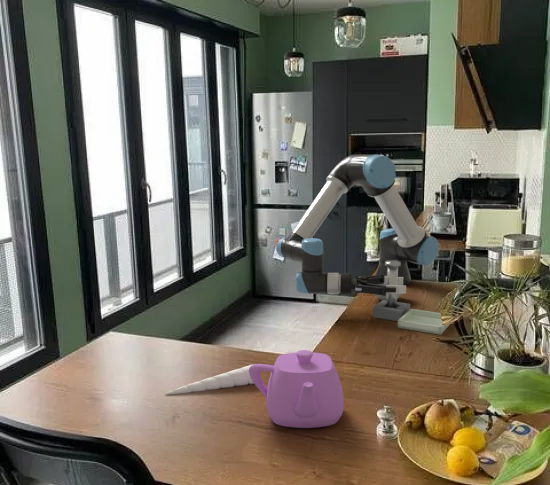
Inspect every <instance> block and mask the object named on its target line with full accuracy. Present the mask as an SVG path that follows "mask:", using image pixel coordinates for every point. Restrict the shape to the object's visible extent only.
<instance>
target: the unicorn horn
mask: <svg viewBox="0 0 550 485" xmlns="http://www.w3.org/2000/svg"><path fill="white" fill-rule="evenodd" d="M252 365H254V364H249V365H245V366H244V367H240V368H236V369H233V370H229V371H227V372H223V373H221V374H217V375H213V376H212V377H207V378H205V379H200V380H198V381H195V382H191V383H188V384H186V385H183V386H181V387H177V388H175V389H172V390H170V391H167V392H166V393H164V395H168V396H169V395H170V396H171V395H177V394H179V395H180V394H181V395H182V394H188V393H192V392H194V393H195V392H196V393H197V392H204V391H211V390H219V389H220V390H221V389H227V388H233V387H235V386H236V387H238V386H239V387H240V386H246V385H248V384H249V385H255V384H254V382H253V381H252V379H251V377H250V374H249V368H250V366H252Z"/></svg>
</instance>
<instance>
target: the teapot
mask: <svg viewBox="0 0 550 485" xmlns="http://www.w3.org/2000/svg"><path fill="white" fill-rule="evenodd" d="M251 365H252V364H251ZM261 372H270V375H269V379H268V382H267V387H266V385H265V384H264V382H263V380H262V378H261V375H260V374H261ZM249 374H250V377H251V379H252V381H253V382H254V384H253V385H255V387H257V388H258V390H259V391H260V392H261V393H262V395H263V396H264V397H265V405H266V411H267V414H268V416H269V417H270V419H271V421H272V422H273V423H274V424H276V425H278V426H282V427H287V428H296V429H297V428H298V429H312V428H313V429H314V428H321V427H322V428H323V427H328V426H333V425H335V424H336V423H337V422H338V421H339V420H340V418H341V417H342V415H343V412H344V407H345V406H344V405H345V404H344V393H343V386H342V383H341V379H340V377H339V373H338V372H337V369H336V367H335V364H334V362H333V360H332V358H331V356H329V354H327V353H322V352H321V353H320V352H312V351H310V350H308V349H301V350H298V351H296V352H288V353H282V354H280V355H279V356H277V357H276V360H275V361H274V365H272V364H265V363H255V364H254V365H252V366H250V368H249Z"/></svg>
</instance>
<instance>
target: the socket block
mask: <svg viewBox="0 0 550 485" xmlns="http://www.w3.org/2000/svg"><path fill="white" fill-rule="evenodd" d="M386 303H387V301H386V300H380V301H379V302H378V303H377V304H376V305H374V306H373V307H372V318H377V319H381V320H386V321H387V320H388V321H395V322H398V320H399V319H400V318H401V317H402V316H403V315H405V314H406V313H407V312H408V311H409V310H410V309H411V304H410V303H405V302H398V301H397V308H390V307H386Z"/></svg>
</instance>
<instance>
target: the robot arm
mask: <svg viewBox="0 0 550 485" xmlns="http://www.w3.org/2000/svg"><path fill="white" fill-rule="evenodd" d="M396 170H397V169H396V166H395V163H394V162H393V161H392V160H391V158H390V157H387V156H385V155H381V154H376V153H375V154H357V153H355V154H350V155H348V156H346V157H344V158H343V159H341V161H340V162H338V163H337V164H336V165H335V166H334V168H333V169H332V170H331V171H330V173H328V176H327V177H326V178H325V179H326V182H325V183H324V186H323V187H322V188H321V189H320V191H319V192H318V194H317V195H316V197H315V198H314V199H313V201H312V202H311V204H310V205H309V207H308V208H307V209H306V211H304V214H303V215H302V217H301V218H300V220H299V221H298V222H297V223H296V225H295V226H294V228H293V229H292V231H291V232H290V234H289V235H288V236H287V237H283V238H280V239H279V240H278V241H277V243H276V247H275V250H276V254H278V256H280V257H281V258H282V259H283V258H284V260H285V259H286V260H290V261H293V262H297V263H299V264H301V271H298V272H297V273H296V275H295V290H296V292H297V293H300V294H309V295H312V294H315V295H317V294H318V295H319V294H320V295H321V294H322V295H330V296H334V295H338V294H339V293H340V295H346V296H348V295H352V290H354V292H355V293H356V294H362V293H363V294H368V295H373V294H376V295H383V296H386V293H392V294H401V295H406V294H407V285H409V284H410V283H411V274H410V270H409V268H408V263H412V264H416V265H419V266H421V265H422V266H423V265H424V266H427V265H430V264H433V262H434V261H435V259H436V258H437V256H438V253H439V246H440V245H439V241H438V239H437V238H436V237H434V236H429V235H428V234H427V232H426V230H425V228H424V227H422V226H420V225H418V224H417V223H416V220H415V219H414V217H413V215H412V214H411V212H410V211H409V209H408V207H407V205H406V203H405V202H404V200H403V198H402V196H401V195H400V193H399V192H398V190H397V188H396V186H395V183H396V175H397V174H396ZM354 186H357V187H358V186H359V187H362V188H363V190H364V191H365V193H366V194H367V196H368V197H371V198H374V199H375V202H376V203H377V204H378V206H379V207H380V209H381V211H382V212H383V215H384V216H385V218H386V219H387V221H388V222H389V224H390V226H391V228H385V229H383V230H382V229H381V231H380V234H379V240H378V242H379V247H378V248H379V255H378V257H379V258H378V259H379V260H378V261H379V262H378V265H377V269H376V271H375V274H374V275H355V276H354V278H352V273H351V272H341V273H339V272H324V242H323V240H322V239H320V238H314V235H316V232H317V231H318V230H319V228H320V227H321V226H322V224H323V223H324V221H325V220H326V219H327V217H328V216H329V214H330V213H331V211H332V210H333V208H334V207H335V205H336V204H337V202H338V201H339V200H340V198H341V197H342V195H343V194H346V193H348V191H349V190H350V189H351V188H352V187H354ZM388 260H396V261H400V262H401V266H399V267H398V285H387V277H385V278H384V276H387V266H385V261H388ZM377 284H384V285H386V286H382V285H377Z"/></svg>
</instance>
